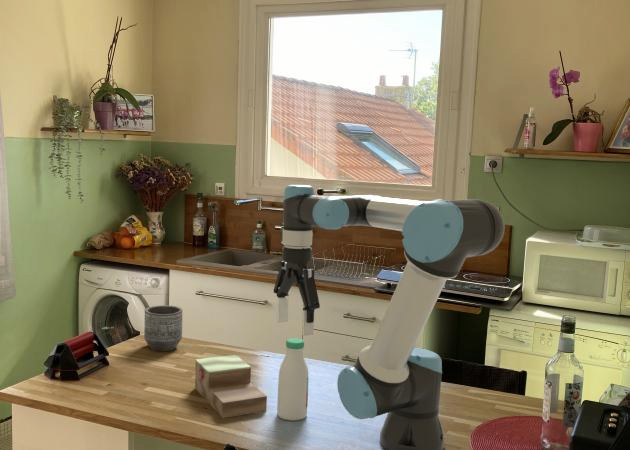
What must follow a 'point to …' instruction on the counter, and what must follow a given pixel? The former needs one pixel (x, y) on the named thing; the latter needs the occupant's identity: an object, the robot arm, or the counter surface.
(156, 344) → the planter
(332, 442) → the counter surface
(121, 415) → the counter surface
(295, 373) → the milk bottle
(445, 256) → the robot arm
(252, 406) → the plinth
